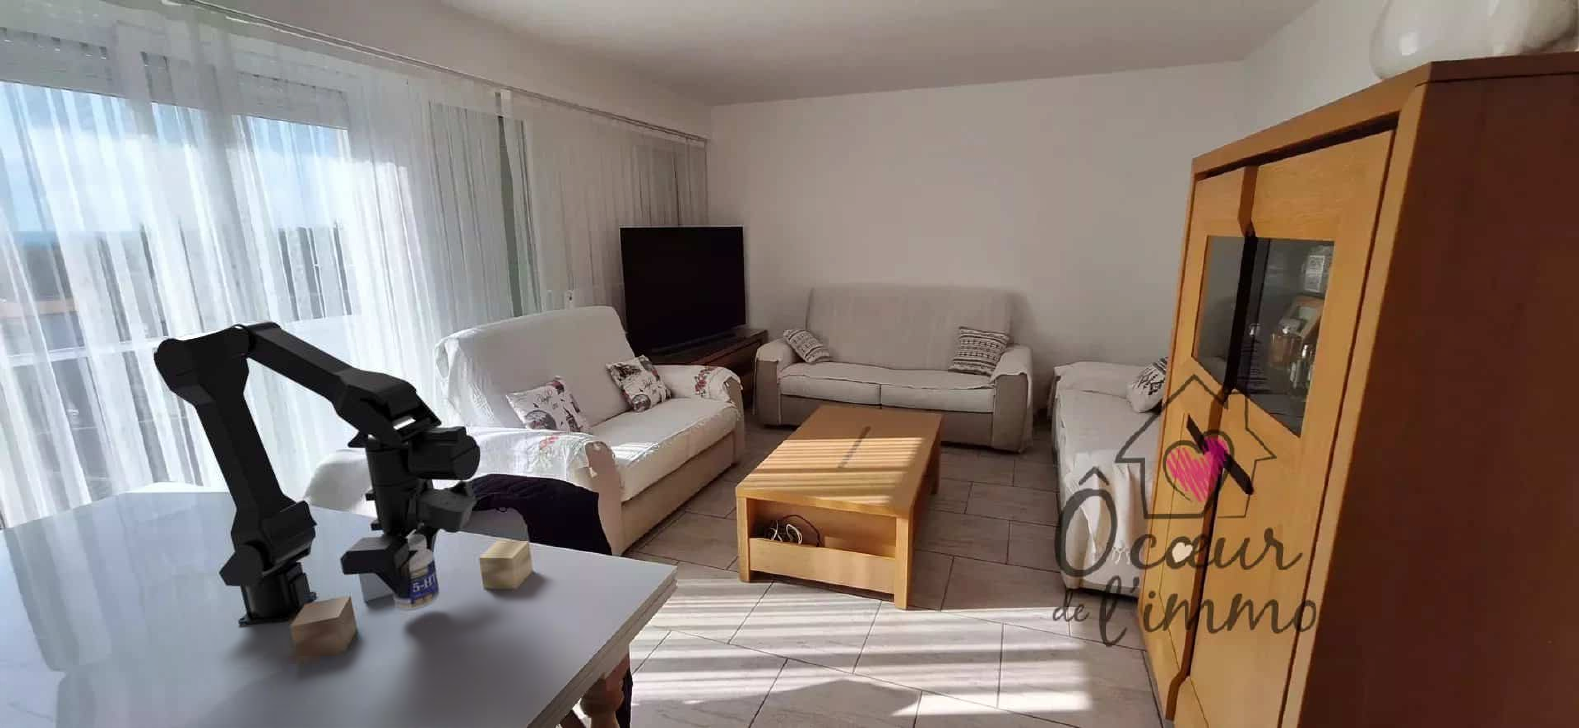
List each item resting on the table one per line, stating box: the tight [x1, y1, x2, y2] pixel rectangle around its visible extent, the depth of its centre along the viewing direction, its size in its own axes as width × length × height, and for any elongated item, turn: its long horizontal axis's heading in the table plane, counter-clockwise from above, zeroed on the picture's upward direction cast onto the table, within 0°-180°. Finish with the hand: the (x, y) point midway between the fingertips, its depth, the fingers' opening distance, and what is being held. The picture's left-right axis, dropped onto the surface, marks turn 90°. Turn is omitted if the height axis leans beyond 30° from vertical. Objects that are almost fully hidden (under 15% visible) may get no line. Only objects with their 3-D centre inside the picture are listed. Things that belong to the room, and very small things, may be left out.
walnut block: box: [289, 595, 358, 663], centre depth 81 cm, size 5×5×5 cm
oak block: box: [478, 540, 534, 590], centre depth 95 cm, size 5×5×5 cm
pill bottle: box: [392, 534, 440, 612], centre depth 85 cm, size 5×5×9 cm
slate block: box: [358, 573, 393, 602], centre depth 93 cm, size 5×5×5 cm
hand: (415, 585), depth 86 cm, fingers closed on pill bottle, 5 cm apart
